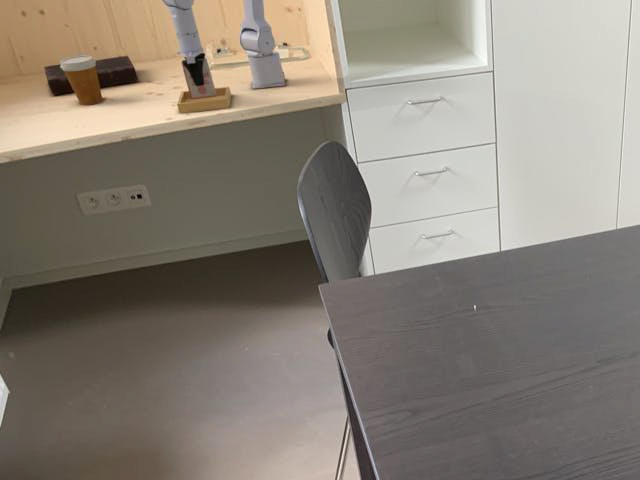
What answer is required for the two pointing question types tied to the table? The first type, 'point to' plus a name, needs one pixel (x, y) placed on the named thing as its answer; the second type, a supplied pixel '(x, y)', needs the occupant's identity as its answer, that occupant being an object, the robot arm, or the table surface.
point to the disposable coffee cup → (83, 78)
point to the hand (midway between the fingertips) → (200, 83)
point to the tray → (204, 101)
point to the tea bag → (200, 91)
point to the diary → (106, 70)
